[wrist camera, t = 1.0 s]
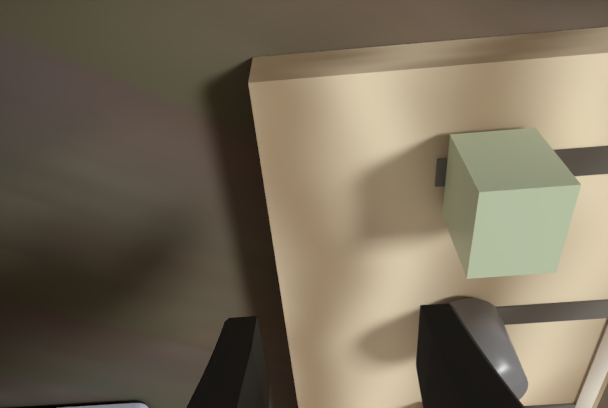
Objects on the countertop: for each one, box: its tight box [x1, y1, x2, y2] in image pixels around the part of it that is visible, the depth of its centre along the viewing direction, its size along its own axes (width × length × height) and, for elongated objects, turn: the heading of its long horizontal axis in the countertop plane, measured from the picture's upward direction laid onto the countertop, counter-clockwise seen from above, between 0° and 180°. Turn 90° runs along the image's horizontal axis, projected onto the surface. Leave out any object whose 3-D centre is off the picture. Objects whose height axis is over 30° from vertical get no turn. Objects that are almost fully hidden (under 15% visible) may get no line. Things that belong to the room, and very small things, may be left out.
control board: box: [248, 27, 608, 408], centre depth 21 cm, size 14×21×2 cm, turn 5°
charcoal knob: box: [449, 298, 528, 400], centre depth 19 cm, size 3×3×3 cm
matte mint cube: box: [442, 128, 581, 279], centre depth 15 cm, size 2×3×3 cm
